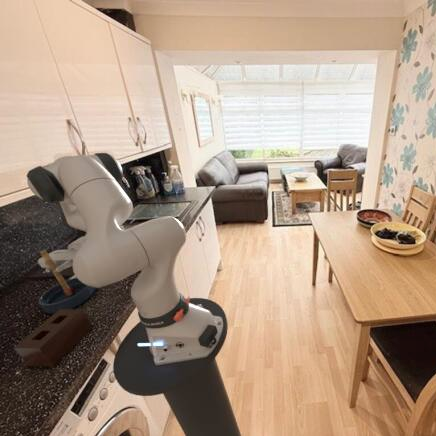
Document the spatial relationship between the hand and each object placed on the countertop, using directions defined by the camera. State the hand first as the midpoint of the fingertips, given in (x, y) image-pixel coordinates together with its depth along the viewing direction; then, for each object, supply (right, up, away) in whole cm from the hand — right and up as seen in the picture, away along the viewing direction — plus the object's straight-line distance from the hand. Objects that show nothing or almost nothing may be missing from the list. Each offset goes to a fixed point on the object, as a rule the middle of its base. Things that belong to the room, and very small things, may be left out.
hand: (52, 270), depth 86 cm
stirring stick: (+1, -10, +6) cm, 12 cm away
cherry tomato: (-1, -10, +7) cm, 12 cm away
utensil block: (+16, -20, -12) cm, 29 cm away
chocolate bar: (-6, -4, +25) cm, 26 cm away
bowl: (+1, -13, +6) cm, 14 cm away
